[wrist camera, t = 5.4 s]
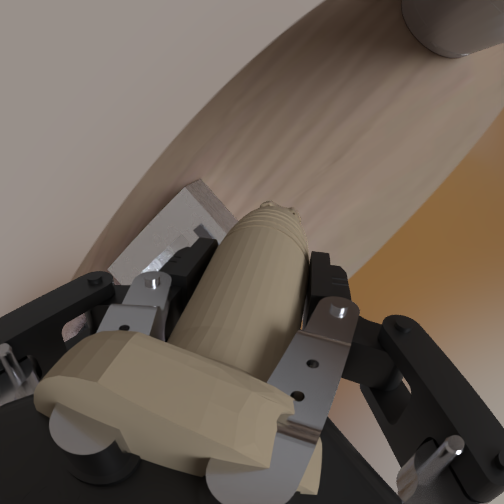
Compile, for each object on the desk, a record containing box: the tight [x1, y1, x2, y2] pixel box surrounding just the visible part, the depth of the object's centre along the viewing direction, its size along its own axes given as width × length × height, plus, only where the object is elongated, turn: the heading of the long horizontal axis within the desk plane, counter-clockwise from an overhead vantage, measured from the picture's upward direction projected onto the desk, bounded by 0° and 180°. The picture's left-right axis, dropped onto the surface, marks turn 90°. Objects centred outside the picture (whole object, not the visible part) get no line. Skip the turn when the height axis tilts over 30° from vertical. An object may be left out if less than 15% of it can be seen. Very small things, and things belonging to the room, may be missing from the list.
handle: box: [34, 201, 322, 495], centre depth 11 cm, size 5×6×15 cm
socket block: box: [108, 179, 238, 285], centre depth 33 cm, size 14×14×5 cm
